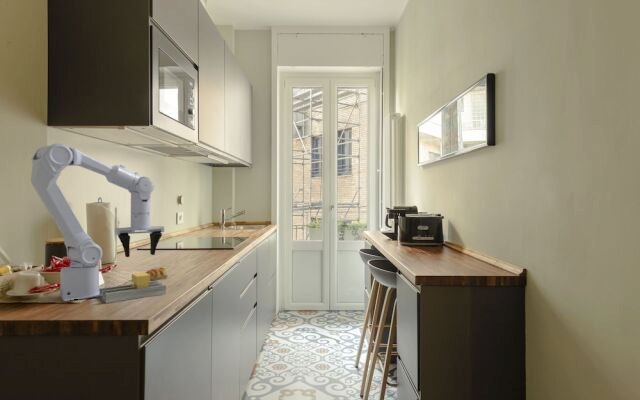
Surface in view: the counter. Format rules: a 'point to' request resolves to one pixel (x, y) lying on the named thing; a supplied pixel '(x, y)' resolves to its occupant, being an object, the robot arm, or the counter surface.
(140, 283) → the yellow block with ridge
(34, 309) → the counter surface
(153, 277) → the pastry
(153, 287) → the rail
